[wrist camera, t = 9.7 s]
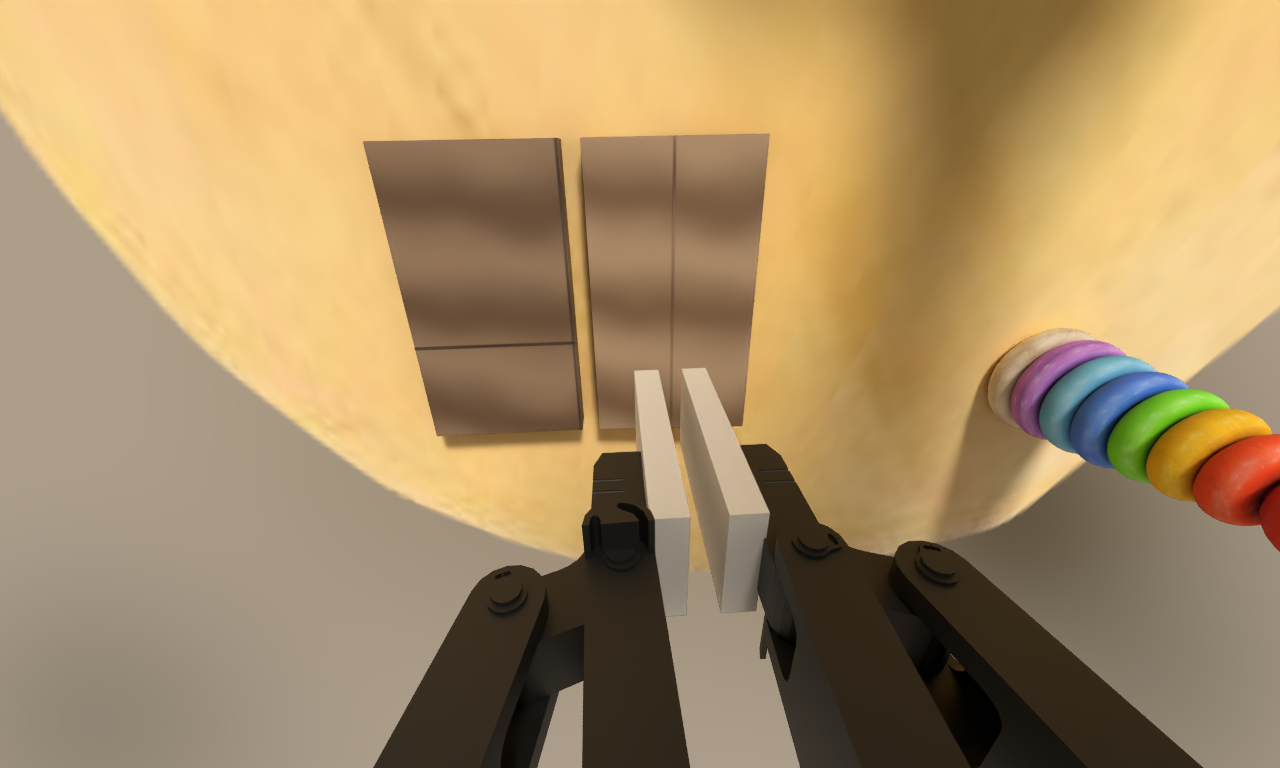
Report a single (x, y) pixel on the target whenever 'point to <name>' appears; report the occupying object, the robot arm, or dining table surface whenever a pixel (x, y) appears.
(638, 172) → the plank
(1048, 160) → the dining table surface
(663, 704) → the robot arm
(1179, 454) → the stacking toy
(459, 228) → the panel
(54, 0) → the dining table surface
